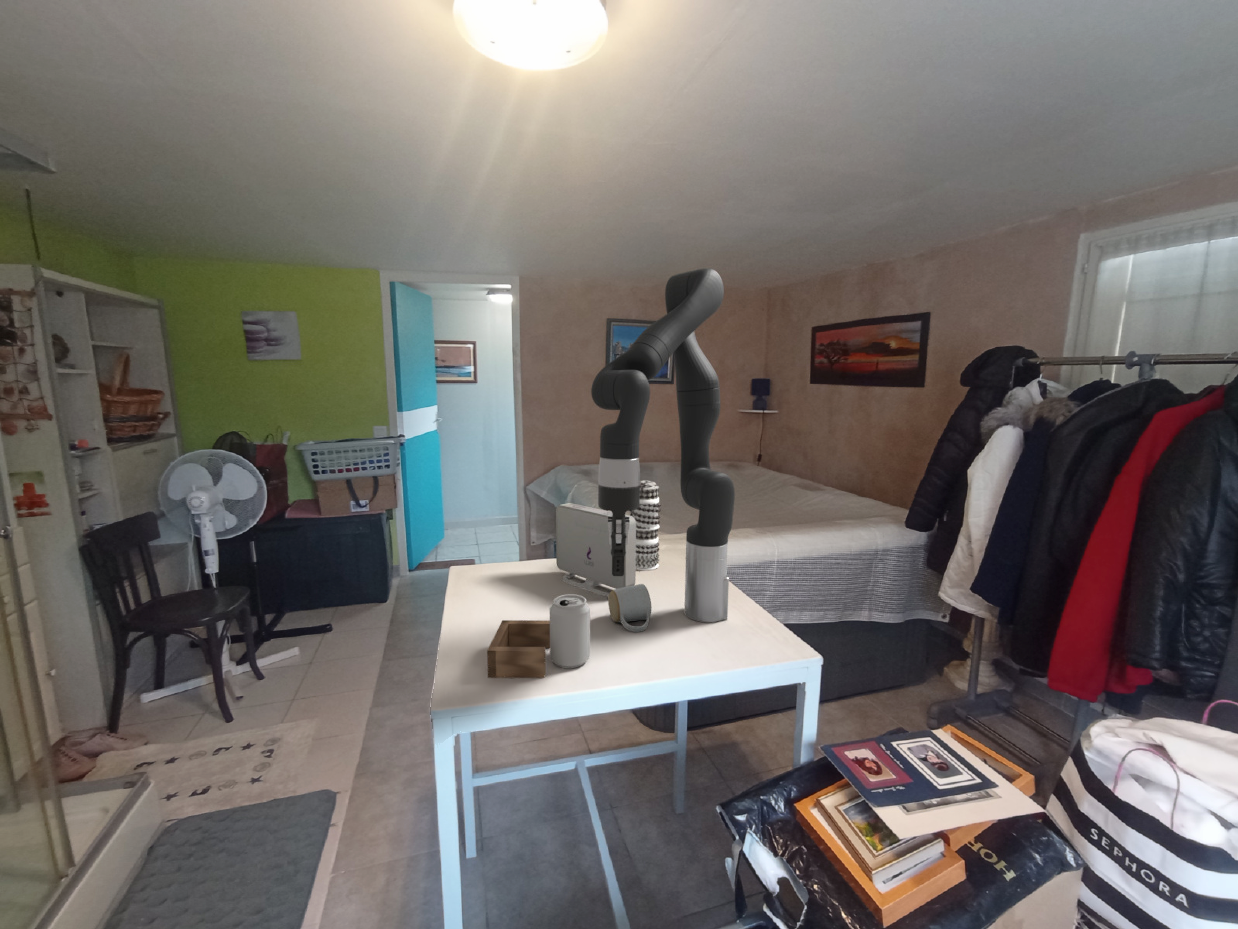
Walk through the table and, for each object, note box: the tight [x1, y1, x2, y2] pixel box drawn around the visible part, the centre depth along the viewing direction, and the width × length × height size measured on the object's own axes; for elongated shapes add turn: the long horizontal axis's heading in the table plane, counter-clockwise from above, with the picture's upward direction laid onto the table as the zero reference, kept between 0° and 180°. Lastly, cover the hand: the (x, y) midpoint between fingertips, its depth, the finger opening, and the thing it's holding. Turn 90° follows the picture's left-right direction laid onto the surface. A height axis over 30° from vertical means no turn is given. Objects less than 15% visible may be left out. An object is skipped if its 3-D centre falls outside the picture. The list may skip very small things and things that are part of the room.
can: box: [549, 593, 591, 669], centre depth 98 cm, size 8×8×12 cm
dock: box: [486, 619, 550, 679], centre depth 98 cm, size 10×12×5 cm
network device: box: [555, 502, 637, 597], centre depth 137 cm, size 26×9×20 cm, turn 48°
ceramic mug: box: [607, 583, 653, 633], centre depth 115 cm, size 11×8×8 cm
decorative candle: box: [629, 479, 662, 572], centre depth 152 cm, size 9×9×25 cm
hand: (617, 574), depth 97 cm, fingers closed
